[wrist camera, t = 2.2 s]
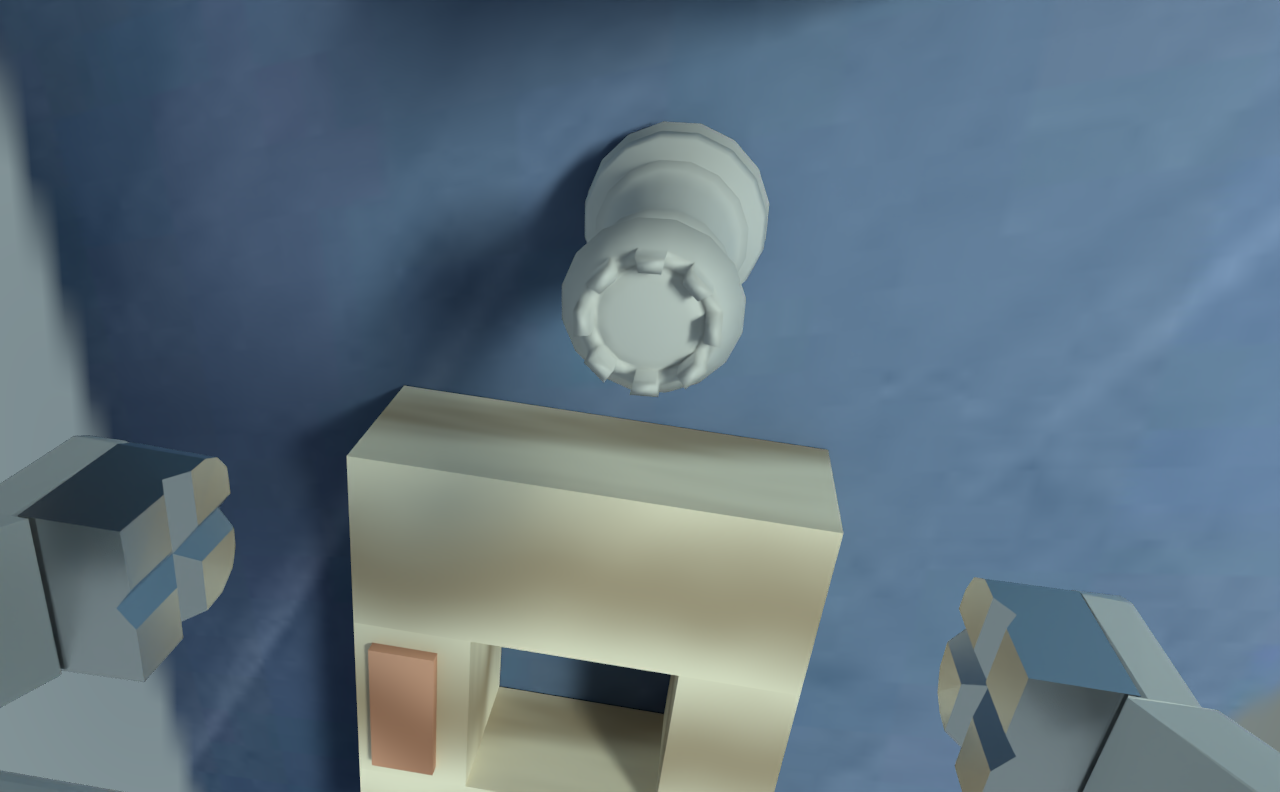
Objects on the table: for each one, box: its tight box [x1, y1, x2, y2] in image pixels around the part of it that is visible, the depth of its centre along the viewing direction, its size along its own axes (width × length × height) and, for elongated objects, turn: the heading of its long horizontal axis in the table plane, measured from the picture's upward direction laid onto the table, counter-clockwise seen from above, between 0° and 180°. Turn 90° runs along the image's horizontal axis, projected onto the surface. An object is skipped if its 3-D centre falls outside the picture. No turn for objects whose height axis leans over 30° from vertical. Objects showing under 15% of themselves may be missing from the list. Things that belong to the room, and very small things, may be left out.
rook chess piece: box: [562, 122, 769, 397], centre depth 18 cm, size 4×4×8 cm
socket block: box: [347, 386, 843, 792], centre depth 26 cm, size 16×12×4 cm
